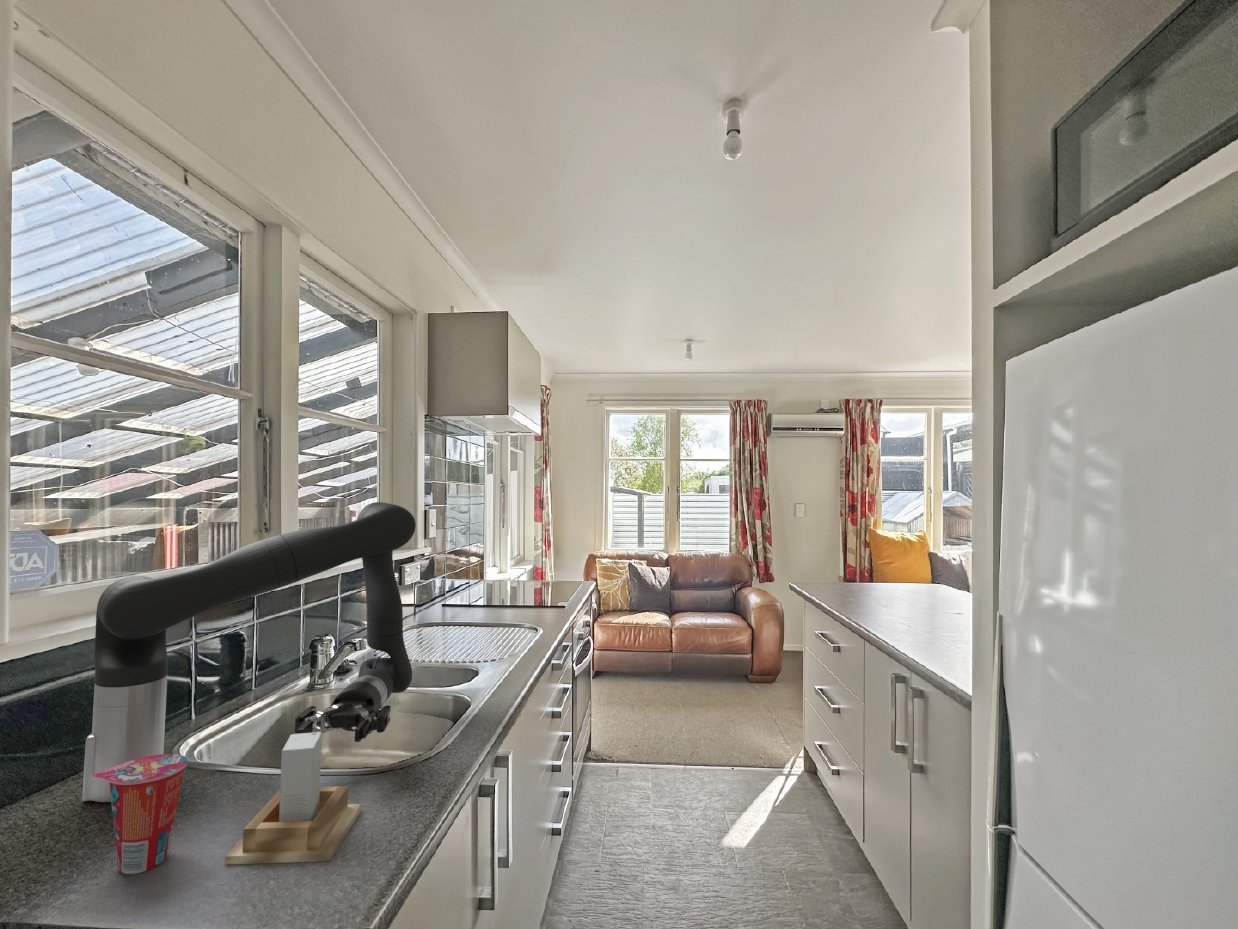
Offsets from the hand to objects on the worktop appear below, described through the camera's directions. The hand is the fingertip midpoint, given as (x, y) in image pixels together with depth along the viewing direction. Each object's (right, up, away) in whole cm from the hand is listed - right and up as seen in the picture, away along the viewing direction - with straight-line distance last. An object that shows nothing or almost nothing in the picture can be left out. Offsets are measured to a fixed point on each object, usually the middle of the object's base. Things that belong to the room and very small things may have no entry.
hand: (329, 736), depth 99 cm
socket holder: (+1, -9, -11) cm, 14 cm away
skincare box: (+1, -8, -11) cm, 14 cm away
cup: (-16, -9, -19) cm, 26 cm away
